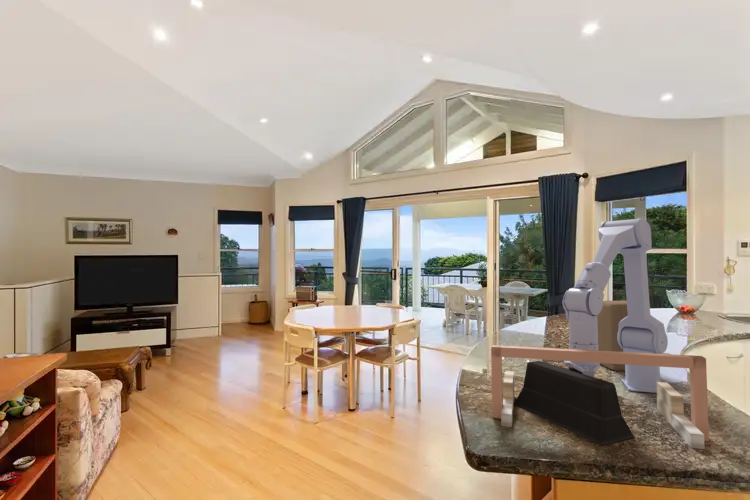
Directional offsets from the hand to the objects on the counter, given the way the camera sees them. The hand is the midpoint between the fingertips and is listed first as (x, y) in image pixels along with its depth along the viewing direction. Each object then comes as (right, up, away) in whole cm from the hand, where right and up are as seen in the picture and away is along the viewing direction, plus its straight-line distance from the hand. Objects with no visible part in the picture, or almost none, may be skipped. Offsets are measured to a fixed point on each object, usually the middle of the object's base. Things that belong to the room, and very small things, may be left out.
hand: (585, 404), depth 92 cm
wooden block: (+29, -2, +36) cm, 47 cm away
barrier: (-6, -2, -5) cm, 8 cm away
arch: (-3, -1, -9) cm, 9 cm away
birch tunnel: (-1, -1, -4) cm, 4 cm away
